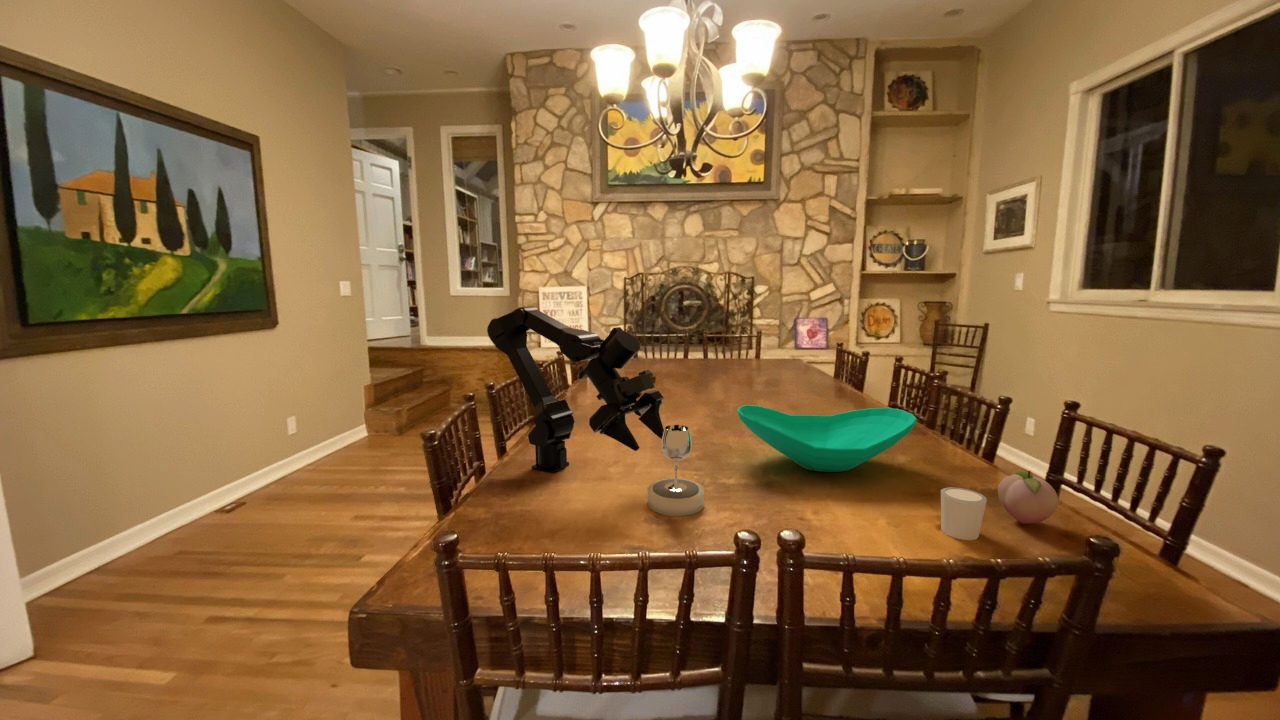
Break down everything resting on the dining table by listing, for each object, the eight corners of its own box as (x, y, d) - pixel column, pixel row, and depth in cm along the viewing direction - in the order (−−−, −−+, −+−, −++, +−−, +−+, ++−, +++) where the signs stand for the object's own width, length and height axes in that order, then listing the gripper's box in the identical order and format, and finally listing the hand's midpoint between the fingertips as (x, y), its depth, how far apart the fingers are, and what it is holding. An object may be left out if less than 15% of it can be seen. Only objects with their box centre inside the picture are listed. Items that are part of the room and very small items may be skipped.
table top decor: (742, 487, 112) (744, 426, 110) (730, 446, 139) (731, 397, 137) (937, 493, 109) (942, 431, 107) (885, 450, 136) (889, 400, 134)
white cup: (928, 524, 95) (931, 487, 94) (964, 522, 96) (968, 486, 95) (954, 542, 89) (957, 503, 88) (992, 541, 89) (996, 502, 88)
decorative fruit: (1066, 538, 90) (1073, 482, 89) (1013, 534, 92) (1019, 479, 90) (1035, 514, 99) (1042, 463, 98) (988, 510, 101) (993, 460, 99)
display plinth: (638, 509, 101) (638, 492, 101) (661, 488, 111) (661, 473, 110) (692, 520, 96) (692, 503, 96) (711, 498, 106) (711, 482, 106)
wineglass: (693, 492, 101) (695, 431, 99) (664, 494, 100) (664, 432, 98) (686, 481, 107) (687, 423, 105) (658, 482, 106) (659, 424, 104)
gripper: (600, 364, 98) (648, 432, 94) (656, 353, 113) (700, 411, 109) (569, 399, 104) (613, 465, 99) (627, 384, 119) (667, 440, 114)
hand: (651, 443), depth 105 cm, fingers open, 9 cm apart
